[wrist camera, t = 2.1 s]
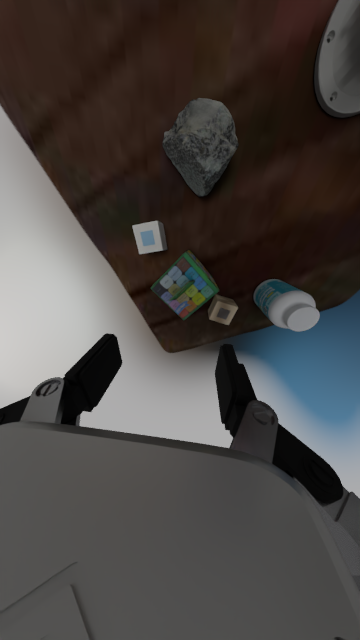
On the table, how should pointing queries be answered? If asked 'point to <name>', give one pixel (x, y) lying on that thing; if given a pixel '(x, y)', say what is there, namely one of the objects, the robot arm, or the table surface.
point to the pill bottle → (286, 305)
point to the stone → (201, 143)
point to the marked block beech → (222, 309)
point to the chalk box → (185, 285)
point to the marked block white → (150, 237)
